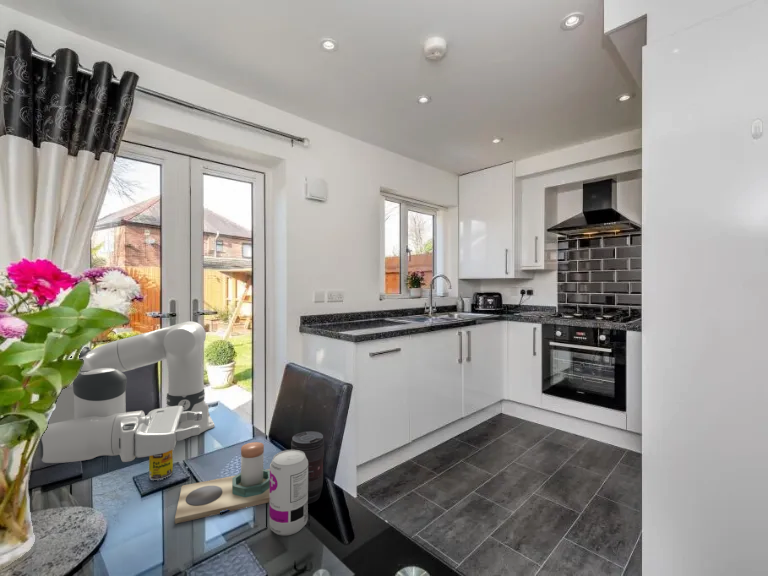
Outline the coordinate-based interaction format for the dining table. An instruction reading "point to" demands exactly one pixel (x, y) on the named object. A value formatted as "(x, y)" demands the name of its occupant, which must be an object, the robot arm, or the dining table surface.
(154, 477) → the supplement bottle
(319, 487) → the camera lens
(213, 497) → the seat board
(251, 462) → the lidded canister
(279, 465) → the supplement can
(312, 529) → the dining table surface
